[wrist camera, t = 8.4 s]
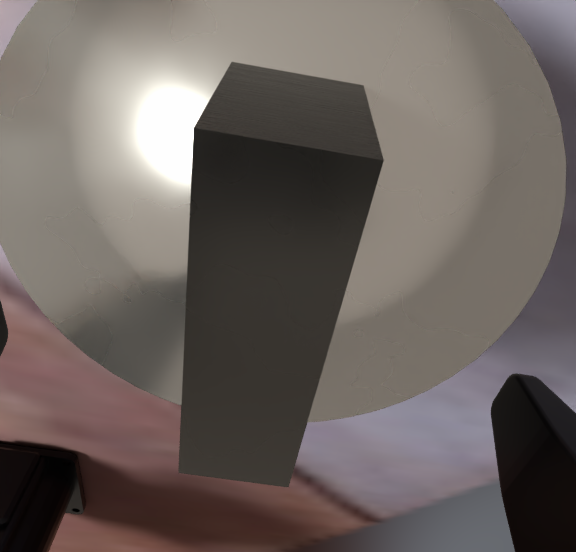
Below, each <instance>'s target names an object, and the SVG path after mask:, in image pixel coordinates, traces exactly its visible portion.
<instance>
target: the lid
mask: <svg viewBox="0 0 576 552" xmlns="http://www.w3.org/2000/svg"><path fill="white" fill-rule="evenodd" d="M565 198H566V155H565V148H564V141H563V134H562V127H561V122H560V118H559V115H558V112H557V109H556V106H555V102H554V99H553V96H552V93H551V90H550V86H549V84H548V82H547V80H546V78H545V76H544V74H543V72H542V70H541V68H540V66H539V64H538V62H537V60H536V58H535V56H534V54H533V52H532V50H531V48H530V46H529V45H528V43H527V42H526V41H525V39H524V38H523V37H522V35H521V34H520V32H519V31H518V30H517V28H516V27H515V26H514V24H513V23H512V22H511V20H510V19H509V18H508V16H507V15H506V14H505V12H504V11H503V9H502V8H501V7H500V6H499V5H498V4H497V3H496V2H495V1H494V0H38V1H37V2H36V3H35V5H34V6H33V7H32V9H31V10H30V11H29V12H28V14H27V15H26V16H25V18H24V19H23V20H22V21H21V23H20V24H19V25H18V27H17V29H16V31H15V33H14V35H13V36H12V38H11V40H10V42H9V44H8V46H7V48H6V50H5V52H4V54H3V56H2V57H1V59H0V243H1V245H2V248H3V250H4V252H5V254H6V256H7V259H8V261H9V263H10V265H11V267H12V269H13V270H14V272H15V273H16V275H17V277H18V278H19V280H20V282H21V283H22V285H23V287H24V288H25V290H26V291H27V293H28V294H29V295H30V297H31V298H32V299H33V301H34V302H35V303H36V304H37V306H38V307H39V308H40V310H41V311H42V312H43V313H44V315H45V316H46V317H47V318H48V319H49V320H50V321H51V322H52V323H53V324H54V325H55V326H56V327H57V328H58V329H59V330H60V332H61V333H62V334H63V335H64V336H65V337H66V338H67V339H69V340H70V341H71V342H72V343H73V344H74V345H76V346H77V347H78V348H79V349H80V350H82V351H83V352H84V353H85V354H86V355H87V356H89V357H90V358H92V359H93V360H94V361H96V362H97V363H99V364H100V365H102V366H103V367H104V368H106V369H107V370H109V371H110V372H112V373H113V374H115V375H117V376H118V377H120V378H122V379H124V380H126V381H127V382H129V383H131V384H133V385H134V386H136V387H138V388H140V389H142V390H145V391H147V392H149V393H151V394H153V395H156V396H158V397H160V398H162V399H165V400H167V401H170V402H173V403H176V404H179V405H181V427H180V450H179V473H184V474H191V475H199V476H207V477H214V478H222V479H229V480H237V481H244V482H252V483H260V484H267V485H275V486H282V487H289V483H290V480H291V476H292V473H293V469H294V466H295V463H296V459H297V456H298V452H299V449H300V445H301V442H302V439H303V435H304V432H305V428H306V425H307V422H319V421H328V420H334V419H341V418H347V417H352V416H356V415H360V414H365V413H369V412H373V411H377V410H380V409H383V408H386V407H388V406H391V405H394V404H397V403H400V402H403V401H405V400H407V399H410V398H412V397H414V396H416V395H419V394H421V393H423V392H425V391H427V390H429V389H431V388H433V387H434V386H436V385H438V384H440V383H441V382H443V381H445V380H447V379H448V378H450V377H452V376H453V375H455V374H456V373H458V372H459V371H460V370H462V369H463V368H465V367H466V366H467V365H469V364H470V363H471V362H473V361H474V360H476V359H477V358H478V357H479V356H480V355H481V354H482V353H483V352H485V351H486V350H487V349H488V348H489V347H490V346H491V345H492V344H493V343H495V342H496V341H497V340H498V339H499V338H500V336H501V335H502V334H503V333H504V332H505V331H506V330H507V328H508V327H509V326H510V325H511V324H512V323H513V322H514V320H515V319H516V318H517V317H518V315H519V314H520V313H521V311H522V310H523V308H524V307H525V305H526V304H527V302H528V301H529V299H530V298H531V296H532V295H533V293H534V292H535V290H536V288H537V286H538V284H539V282H540V280H541V278H542V276H543V274H544V272H545V270H546V268H547V266H548V264H549V262H550V259H551V256H552V253H553V250H554V247H555V244H556V241H557V238H558V235H559V232H560V226H561V220H562V215H563V209H564V204H565Z"/></svg>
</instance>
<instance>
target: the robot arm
mask: <svg viewBox="0 0 576 552" xmlns="http://www.w3.org/2000/svg"><path fill="white" fill-rule="evenodd" d="M7 338H8V328H7V324H6V320H5V316H4V312H3V308H2V305H1V301H0V356H1V354H2V352H3V349H4V347H5V345H6V342H7ZM491 419H492V427H493V434H494V442H495V450H496V458H497V465H498V473H499V481H500V487H501V493H502V497H503V503H504V507H505V512H506V516H507V520H508V524H509V528H510V532H511V536H512V541H513V545H514V549H515V552H576V413H575V412H574V411H573V410H572V409H571V408H570V407H568V406H567V405H566V404H565V403H564V402H563V401H562V400H561V399H560V398H559V397H558V396H557V395H556V394H555V393H554V392H552V391H551V390H550V389H549V388H548V387H547V386H546V385H545V384H544V383H543V382H542V381H541V380H539V379H538V378H537V377H534V376H530V375H523V374H512V375H511V376H509V377H508V379H507V380H506V382H505V383H504V385H503V387H502V388H501V390H500V391H499V393H498V394H497V396H496V398H495V399H494V401H493V403H492V407H491ZM85 507H86V504H85V498H84V492H83V486H82V480H81V474H80V468H79V462H78V458H77V456H76V455H74V454H72V453H68V452H61V451H53V450H46V449H38V448H31V447H23V446H16V445H8V444H1V443H0V552H49V549H50V547H51V545H52V542H53V540H54V538H55V535H56V533H57V530H58V528H59V526H60V523H61V521H62V519H63V516H64V514H65V513H71V514H82V513H83V512H84V509H85Z"/></svg>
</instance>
